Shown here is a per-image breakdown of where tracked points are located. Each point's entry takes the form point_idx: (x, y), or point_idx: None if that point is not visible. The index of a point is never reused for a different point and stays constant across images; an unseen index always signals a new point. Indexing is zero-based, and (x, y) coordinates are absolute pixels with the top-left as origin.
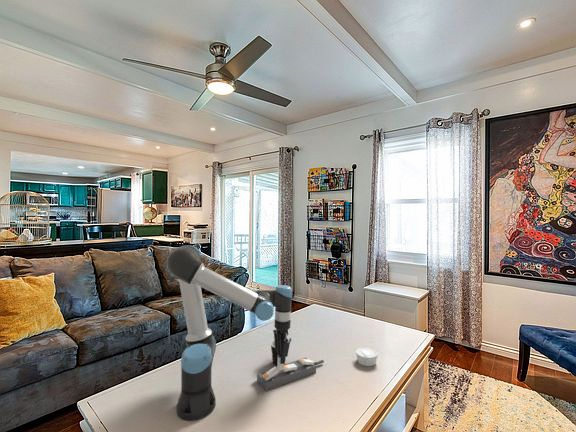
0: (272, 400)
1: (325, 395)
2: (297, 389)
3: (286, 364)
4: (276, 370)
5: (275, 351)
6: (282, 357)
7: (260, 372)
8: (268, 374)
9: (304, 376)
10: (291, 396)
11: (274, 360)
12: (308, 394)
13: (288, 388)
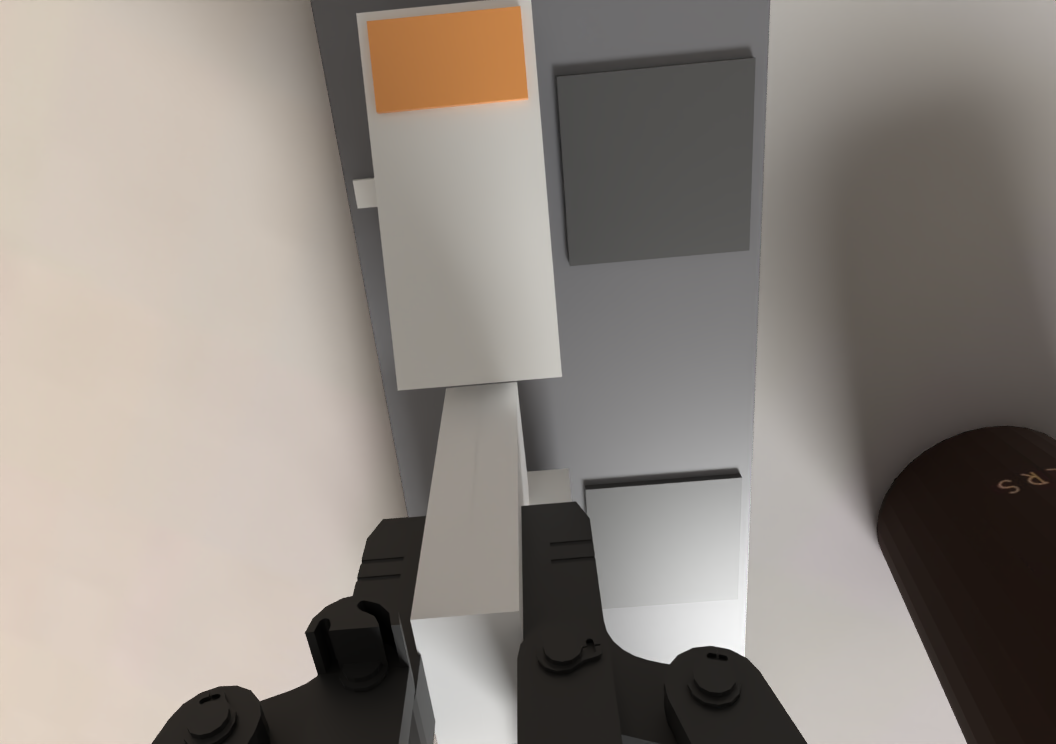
0: (48, 4)
1: (17, 688)
2: (223, 471)
3: (715, 592)
4: (412, 342)
5: (712, 649)
6: (214, 691)
7: (753, 38)
8: (434, 130)
9: None
10: (86, 333)
11: (1005, 475)
12: (78, 543)
13: (285, 374)
